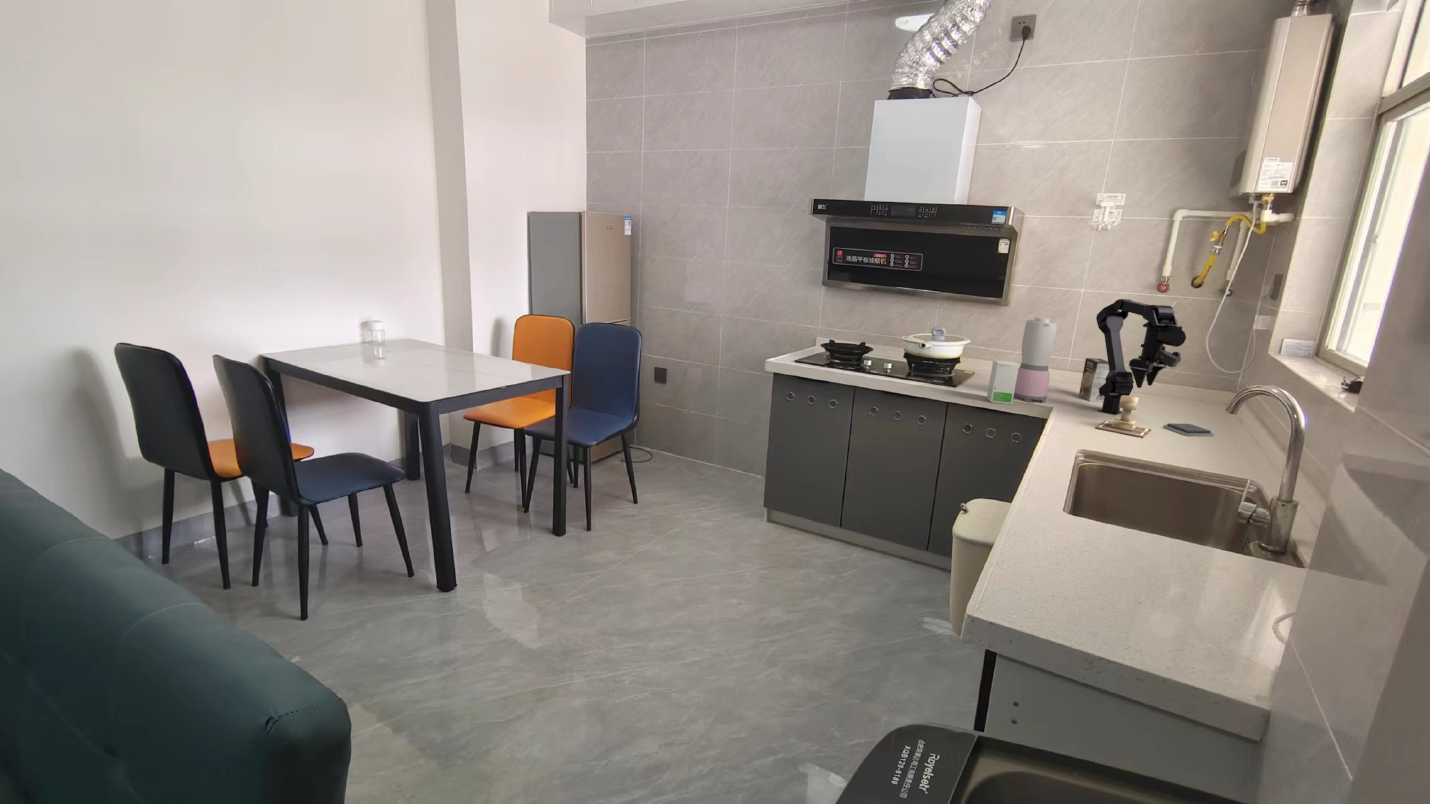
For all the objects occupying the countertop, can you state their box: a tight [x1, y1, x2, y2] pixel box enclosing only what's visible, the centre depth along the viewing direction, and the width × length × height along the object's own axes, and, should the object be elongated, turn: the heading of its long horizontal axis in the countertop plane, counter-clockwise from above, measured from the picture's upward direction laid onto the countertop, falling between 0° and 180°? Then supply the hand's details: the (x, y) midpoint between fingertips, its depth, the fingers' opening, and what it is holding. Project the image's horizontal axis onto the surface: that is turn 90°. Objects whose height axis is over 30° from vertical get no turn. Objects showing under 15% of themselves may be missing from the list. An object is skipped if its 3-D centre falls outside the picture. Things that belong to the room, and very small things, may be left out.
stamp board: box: [1094, 420, 1152, 439], centre depth 225 cm, size 14×14×1 cm
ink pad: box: [1163, 422, 1215, 437], centre depth 227 cm, size 10×10×2 cm
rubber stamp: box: [1111, 395, 1140, 432], centre depth 224 cm, size 6×6×11 cm
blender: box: [1013, 316, 1058, 403], centre depth 262 cm, size 16×12×32 cm
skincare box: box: [986, 359, 1020, 405], centre depth 255 cm, size 8×7×16 cm
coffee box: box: [1078, 357, 1109, 403], centre depth 269 cm, size 9×6×16 cm
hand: (1144, 386), depth 233 cm, fingers open, 9 cm apart
